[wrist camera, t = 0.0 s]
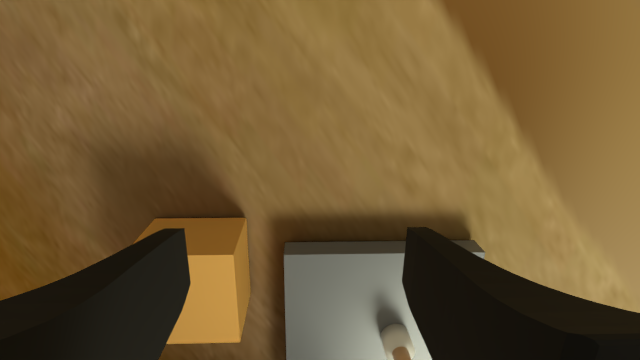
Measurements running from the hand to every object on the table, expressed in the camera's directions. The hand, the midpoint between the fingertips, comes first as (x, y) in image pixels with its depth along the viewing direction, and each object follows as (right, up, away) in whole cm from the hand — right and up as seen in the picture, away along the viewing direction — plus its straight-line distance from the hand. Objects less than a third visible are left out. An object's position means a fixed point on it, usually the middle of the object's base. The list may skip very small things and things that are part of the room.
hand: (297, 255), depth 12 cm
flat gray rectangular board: (+4, -9, +14) cm, 17 cm away
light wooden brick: (-6, -2, +11) cm, 13 cm away
